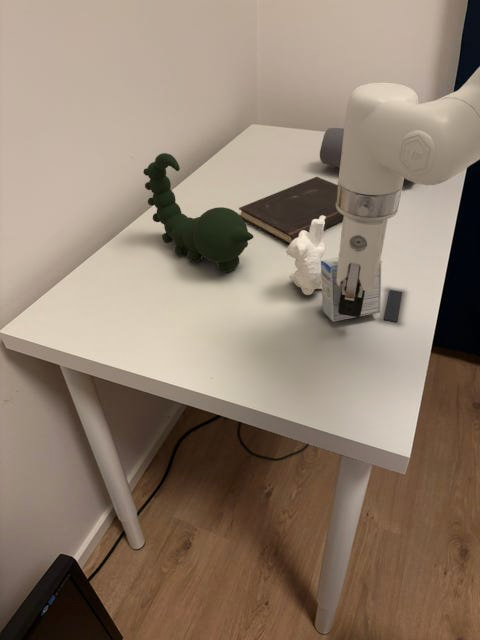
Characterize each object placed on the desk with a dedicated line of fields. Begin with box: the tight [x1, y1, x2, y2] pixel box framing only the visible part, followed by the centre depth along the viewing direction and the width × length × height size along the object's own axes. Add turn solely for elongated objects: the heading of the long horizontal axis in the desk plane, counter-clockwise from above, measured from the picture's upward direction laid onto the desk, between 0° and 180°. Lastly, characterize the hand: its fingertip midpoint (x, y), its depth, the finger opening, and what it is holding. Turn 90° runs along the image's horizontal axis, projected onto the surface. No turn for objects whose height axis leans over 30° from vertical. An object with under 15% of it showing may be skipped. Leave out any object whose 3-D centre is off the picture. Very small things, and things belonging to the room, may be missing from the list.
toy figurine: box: [142, 152, 255, 273], centre depth 85 cm, size 9×19×25 cm
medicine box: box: [321, 256, 383, 322], centre depth 73 cm, size 8×4×9 cm, turn 103°
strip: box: [383, 289, 403, 323], centre depth 77 cm, size 2×8×1 cm, turn 160°
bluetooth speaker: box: [319, 127, 408, 181], centre depth 113 cm, size 23×9×10 cm, turn 58°
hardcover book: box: [238, 176, 344, 246], centre depth 102 cm, size 16×23×2 cm
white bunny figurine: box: [285, 215, 326, 296], centre depth 78 cm, size 8×7×12 cm
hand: (349, 312), depth 71 cm, fingers closed
